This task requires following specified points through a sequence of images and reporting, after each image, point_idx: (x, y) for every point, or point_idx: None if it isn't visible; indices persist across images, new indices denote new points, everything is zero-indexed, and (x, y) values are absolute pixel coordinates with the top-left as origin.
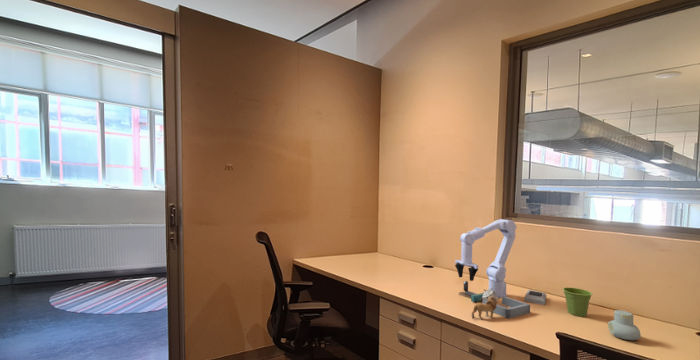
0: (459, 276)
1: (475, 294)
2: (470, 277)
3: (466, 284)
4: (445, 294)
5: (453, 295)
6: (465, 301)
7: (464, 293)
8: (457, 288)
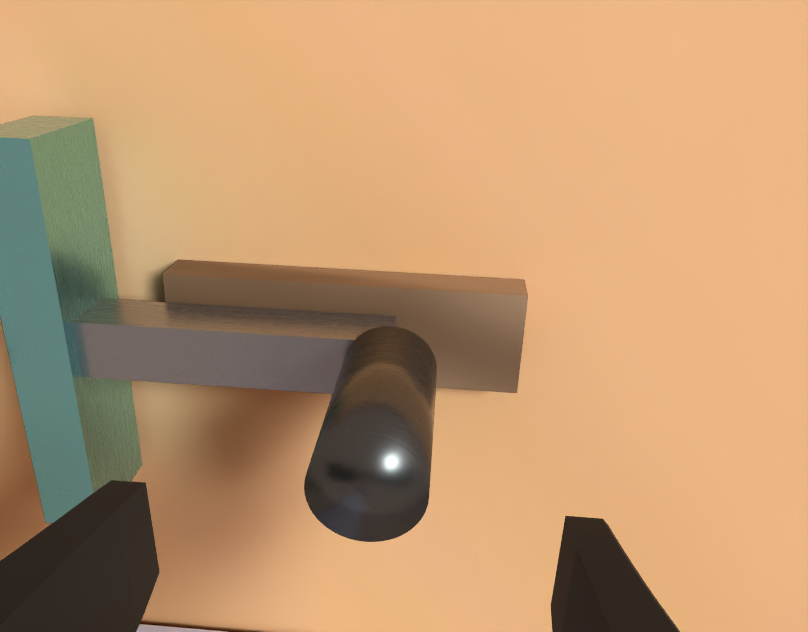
0: (578, 532)
1: (50, 274)
2: (36, 541)
3: (325, 421)
4: (691, 2)
5: (543, 122)
6: (157, 27)
7: (420, 331)
8: (768, 543)
